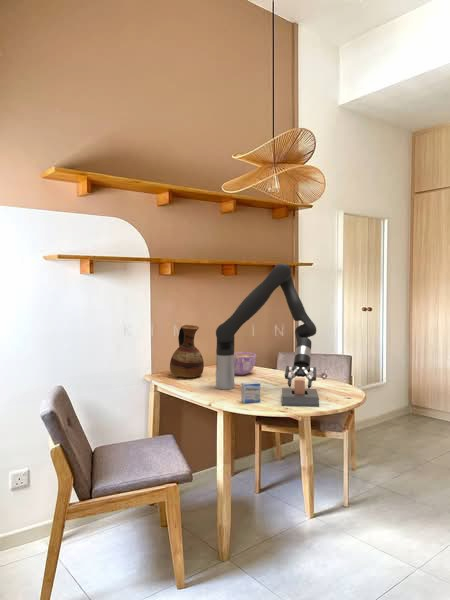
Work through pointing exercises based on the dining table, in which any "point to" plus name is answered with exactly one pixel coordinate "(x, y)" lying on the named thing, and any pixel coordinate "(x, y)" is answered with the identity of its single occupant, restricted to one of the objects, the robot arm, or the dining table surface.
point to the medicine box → (250, 392)
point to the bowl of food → (243, 362)
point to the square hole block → (300, 398)
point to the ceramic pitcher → (187, 354)
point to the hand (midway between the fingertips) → (299, 386)
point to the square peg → (299, 386)
